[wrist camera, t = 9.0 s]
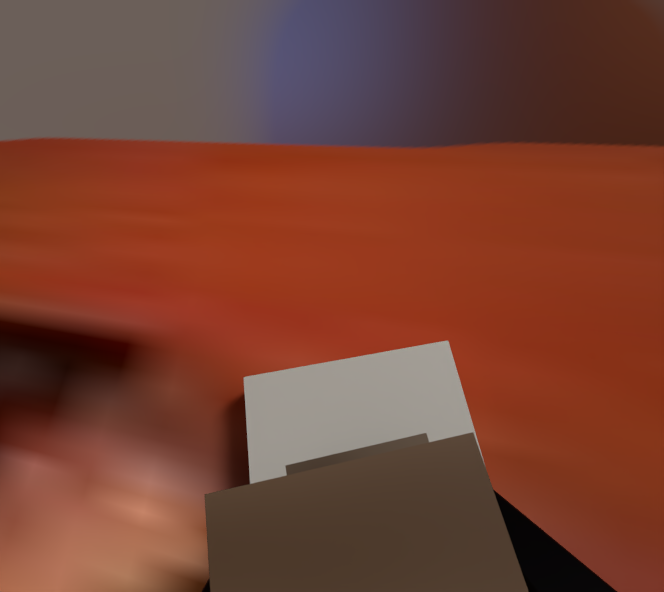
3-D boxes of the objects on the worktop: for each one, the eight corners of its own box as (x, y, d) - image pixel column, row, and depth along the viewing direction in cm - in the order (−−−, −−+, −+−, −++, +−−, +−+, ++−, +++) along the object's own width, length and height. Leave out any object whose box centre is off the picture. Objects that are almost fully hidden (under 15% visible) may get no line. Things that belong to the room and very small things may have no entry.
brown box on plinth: (477, 617, 13) (731, 993, 4) (317, 654, 13) (182, 1116, 4) (423, 434, 15) (497, 392, 6) (289, 465, 15) (167, 469, 6)
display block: (542, 708, 14) (567, 745, 12) (282, 748, 14) (268, 790, 13) (441, 351, 20) (448, 340, 18) (255, 384, 20) (243, 377, 18)
